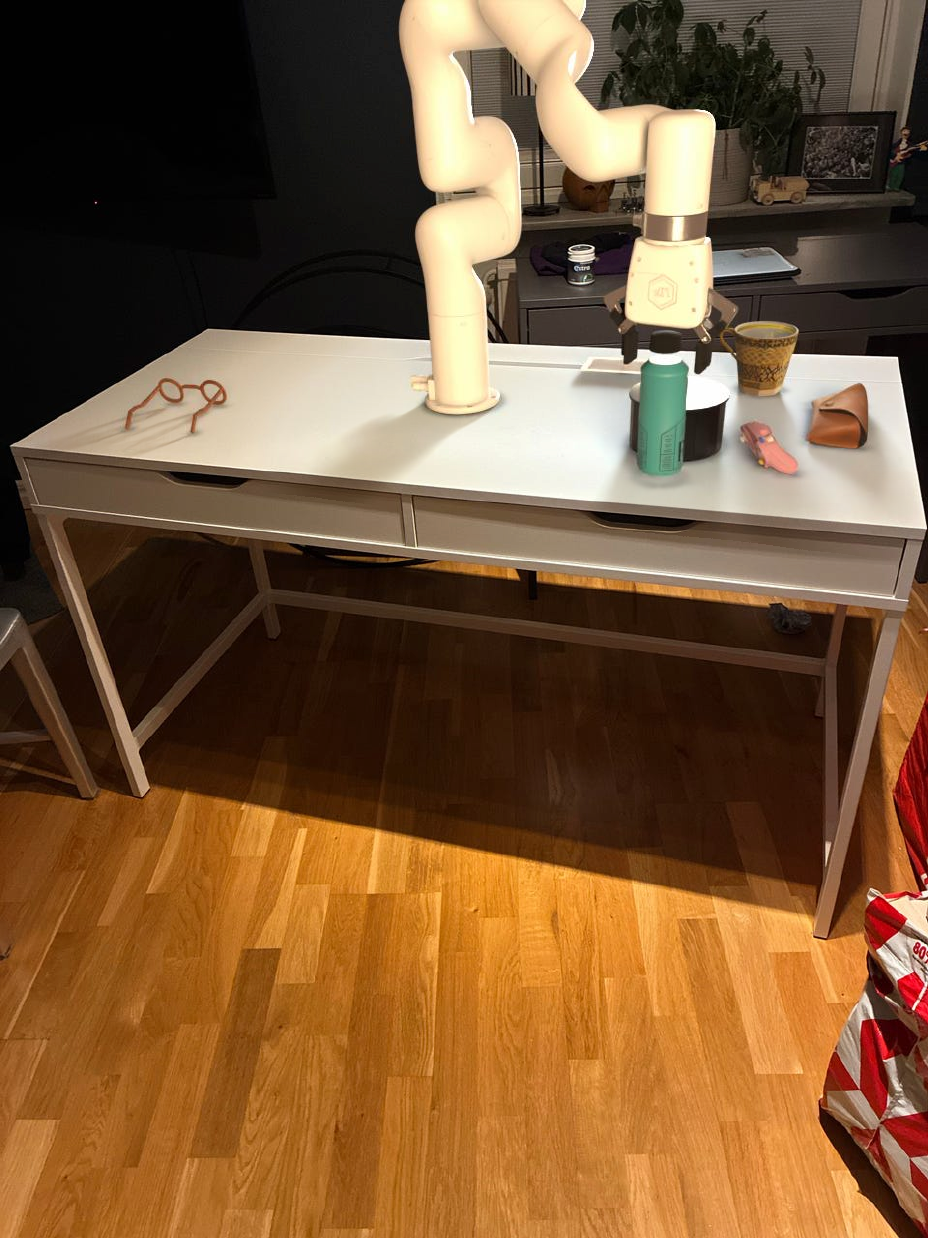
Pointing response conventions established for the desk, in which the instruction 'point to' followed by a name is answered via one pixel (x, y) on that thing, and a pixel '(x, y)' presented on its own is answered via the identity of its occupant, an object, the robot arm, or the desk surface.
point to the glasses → (201, 388)
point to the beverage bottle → (662, 407)
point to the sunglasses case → (840, 419)
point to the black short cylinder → (692, 432)
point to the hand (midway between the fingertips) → (664, 366)
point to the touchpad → (612, 365)
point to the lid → (696, 394)
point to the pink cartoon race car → (767, 447)
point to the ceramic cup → (762, 355)
